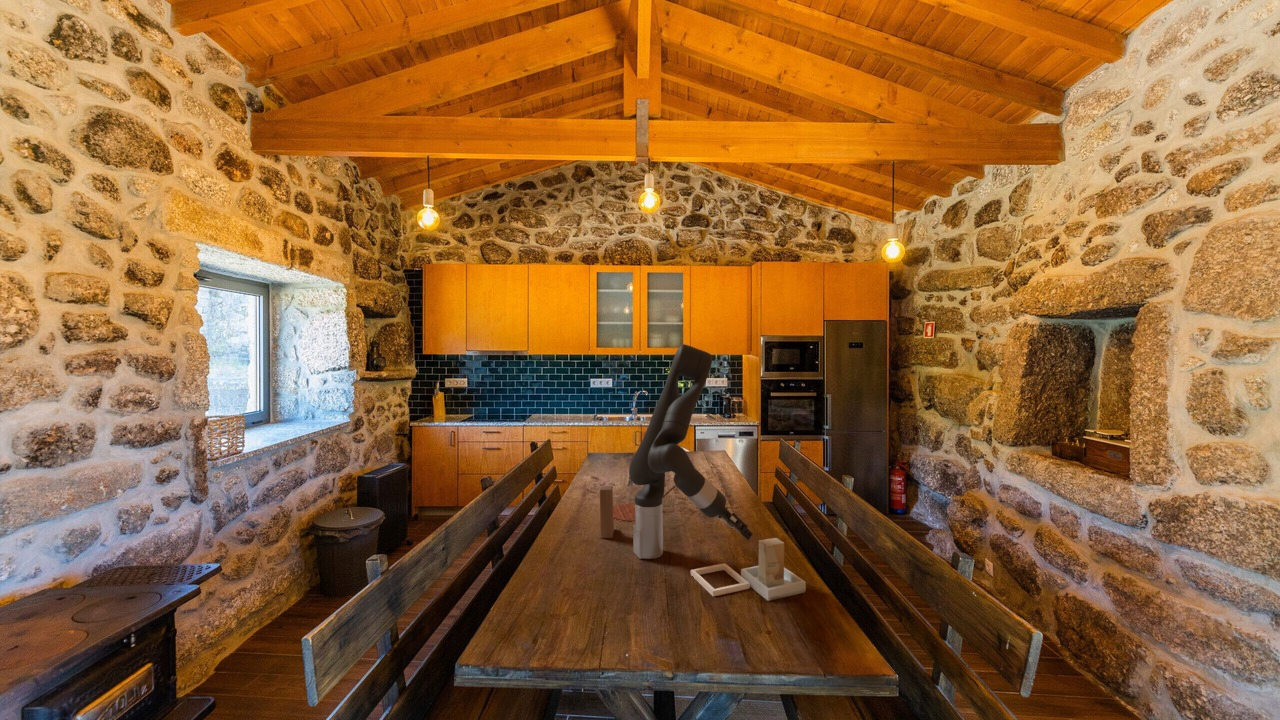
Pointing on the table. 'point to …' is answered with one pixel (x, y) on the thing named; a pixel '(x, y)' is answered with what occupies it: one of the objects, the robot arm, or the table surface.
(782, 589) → the tray
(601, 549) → the table surface
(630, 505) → the incense holder
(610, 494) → the wooden block
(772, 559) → the skincare box
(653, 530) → the robot arm
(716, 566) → the holder
